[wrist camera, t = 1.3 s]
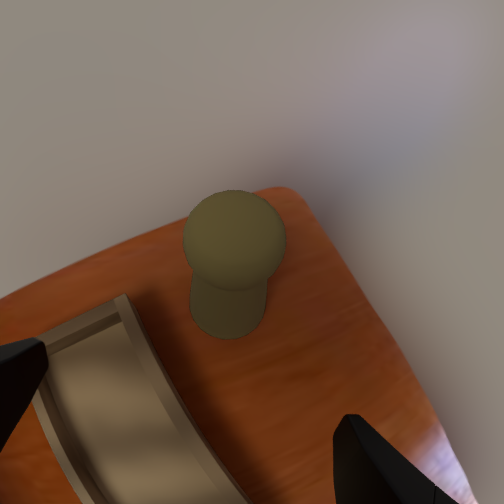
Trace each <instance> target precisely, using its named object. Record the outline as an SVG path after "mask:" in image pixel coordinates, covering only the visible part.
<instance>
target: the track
mask: <svg viewBox="0 0 504 504" xmlns="http://www.w3.org/2000/svg"><path fill="white" fill-rule="evenodd" d="M35 338H37V339H39V340H41V341H43V342H44V343H45V346H46V351H47V355H48V360H49V367H48V370H47V372H46V374H45V376H44V377H43V379H42V381H41V383H40V385H39V387H38V389H37V391H36V393H35V395H34V397H33V399H32V403H33V406H34V408H35V411H36V413H37V416H38V419H39V421H40V423H41V426H42V428H43V431H44V433H45V435H46V437H47V440H48V442H49V444H50V446H51V448H52V450H53V452H54V454H55V456H56V458H57V460H58V462H59V464H60V466H61V468H62V470H63V472H64V473H65V475H66V477H67V479H68V481H69V482H70V484H71V486H72V487H73V489H74V491H75V492H76V494H77V495H78V497H79V499H80V500H81V502H82V503H83V504H254V503H253V502H252V501H251V500H250V499H249V497H248V496H247V495H246V494H245V492H244V491H243V490H242V488H241V487H240V486H239V485H238V483H237V482H236V481H235V479H234V478H233V477H232V475H231V474H230V473H229V471H228V470H227V468H226V467H225V466H224V464H223V463H222V461H221V460H220V459H219V457H218V456H217V454H216V453H215V451H214V450H213V448H212V447H211V445H210V444H209V442H208V441H207V439H206V438H205V436H204V435H203V433H202V432H201V430H200V429H199V427H198V425H197V424H196V422H195V420H194V419H193V417H192V416H191V414H190V412H189V411H188V409H187V407H186V406H185V404H184V402H183V400H182V399H181V397H180V395H179V393H178V392H177V390H176V388H175V386H174V385H173V383H172V381H171V379H170V377H169V375H168V373H167V372H166V370H165V368H164V366H163V364H162V362H161V360H160V358H159V356H158V354H157V352H156V350H155V348H154V346H153V344H152V342H151V340H150V338H149V336H148V334H147V331H146V329H145V327H144V325H143V323H142V321H141V318H140V316H139V314H138V312H137V309H136V307H135V306H134V304H133V303H132V302H131V300H130V299H129V298H128V296H127V295H126V293H125V294H123V295H121V296H118V297H116V298H114V299H112V300H110V301H108V302H106V303H104V304H102V305H100V306H98V307H96V308H94V309H92V310H89V311H87V312H85V313H83V314H81V315H79V316H77V317H75V318H73V319H71V320H69V321H67V322H65V323H63V324H61V325H59V326H57V327H55V328H53V329H51V330H49V331H47V332H45V333H43V334H41V335H39V336H37V337H35Z"/></svg>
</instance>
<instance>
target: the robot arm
mask: <svg viewBox="0 0 504 504" xmlns="http://www.w3.org/2000/svg"><path fill="white" fill-rule="evenodd" d="M48 367H49V360H48V355H47V351H46V346H45V343H44V342H43V341H41V340H39V339H37V338H34V337H32V338H28V339H24V340H20V341H17V342H13V343H9V344H5V345H1V346H0V452H1V451H2V449H3V447H4V445H5V444H6V442H7V440H8V438H9V437H10V435H11V433H12V432H13V430H14V428H15V427H16V425H17V423H18V422H19V420H20V419H21V417H22V415H23V414H24V412H25V411H26V409H27V408H28V406H29V404H30V402H31V401H32V399H33V397H34V395H35V393H36V391H37V389H38V387H39V385H40V383H41V381H42V379H43V377H44V376H45V374H46V372H47V370H48ZM333 477H334V489H335V497H336V504H459V503H457V502H456V501H455V500H453V499H452V498H451V497H450V496H448V495H447V494H446V493H445V492H443V491H442V490H441V489H440V488H439V487H438V486H435V484H434V483H433V482H432V481H431V480H429V479H428V478H427V477H426V476H425V475H424V474H423V473H422V472H420V471H419V470H418V469H417V468H416V467H415V466H414V465H413V464H412V463H410V462H409V461H408V460H407V459H406V458H405V457H404V456H403V455H402V454H401V453H399V452H398V451H397V450H396V449H395V448H394V447H393V446H392V445H391V444H390V443H389V442H388V441H386V440H385V439H384V438H383V437H382V436H381V435H380V434H379V433H378V432H377V431H376V430H375V429H374V428H373V427H372V426H371V425H370V424H369V423H367V422H366V421H365V420H364V419H363V418H362V417H361V416H360V415H358V414H346V415H345V416H344V417H343V418H342V420H341V421H340V423H339V425H338V427H337V428H336V430H335V432H334V435H333Z"/></svg>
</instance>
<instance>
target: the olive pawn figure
mask: <svg viewBox="0 0 504 504" xmlns="http://www.w3.org/2000/svg"><path fill="white" fill-rule="evenodd" d="M285 247H286V234H285V228H284V223H283V222H282V220H281V218H280V216H279V214H278V213H277V211H276V210H275V209H274V208H273V207H272V206H271V205H270V204H269V203H268V202H267V201H266V200H265V199H263V198H261V197H259V196H257V195H255V194H253V193H249V192H245V191H241V190H236V191H235V190H227V191H223V192H219V193H215V194H213V195H211V196H209V197H207V198H206V199H204V200H203V201H201V202H200V203H199V204H198V205H197V206H196V207H195V208H194V209H193V210H192V211H191V213H190V215H189V217H188V219H187V222H186V224H185V227H184V231H183V248H184V252H185V255H186V258H187V261H188V264H189V265H190V266H191V268H192V269H193V276H192V283H191V290H190V311H191V314H192V317H193V320H194V321H195V322H196V324H197V325H198V326H199V327H200V329H201V330H203V331H204V332H206V333H207V334H209V335H210V336H213V337H217V338H220V339H237V338H240V337H242V336H245V335H247V334H249V333H250V332H251V331H253V330H254V329H255V328H256V327H257V326H258V324H259V323H260V321H261V320H262V318H263V315H264V311H265V306H266V294H267V281H268V278H269V277H270V276H272V275H273V274H274V272H275V271H276V269H277V268H278V266H279V265H280V263H281V261H282V259H283V257H284V252H285Z"/></svg>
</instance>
